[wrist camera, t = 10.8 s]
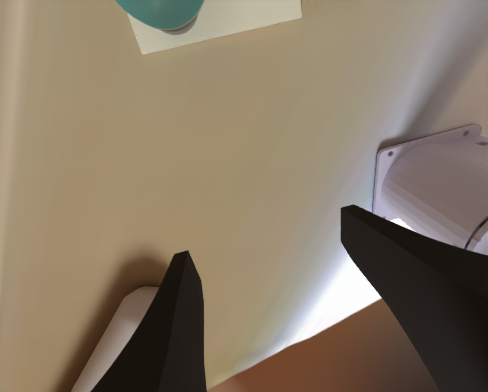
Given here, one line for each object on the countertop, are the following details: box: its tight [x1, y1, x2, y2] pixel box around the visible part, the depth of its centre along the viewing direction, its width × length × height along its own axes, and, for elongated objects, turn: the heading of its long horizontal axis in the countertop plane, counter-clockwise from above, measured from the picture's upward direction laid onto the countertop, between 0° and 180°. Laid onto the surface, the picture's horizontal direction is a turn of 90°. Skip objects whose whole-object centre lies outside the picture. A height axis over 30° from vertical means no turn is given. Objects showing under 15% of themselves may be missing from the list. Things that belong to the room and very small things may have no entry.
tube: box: [71, 286, 159, 392], centre depth 27 cm, size 5×5×25 cm
